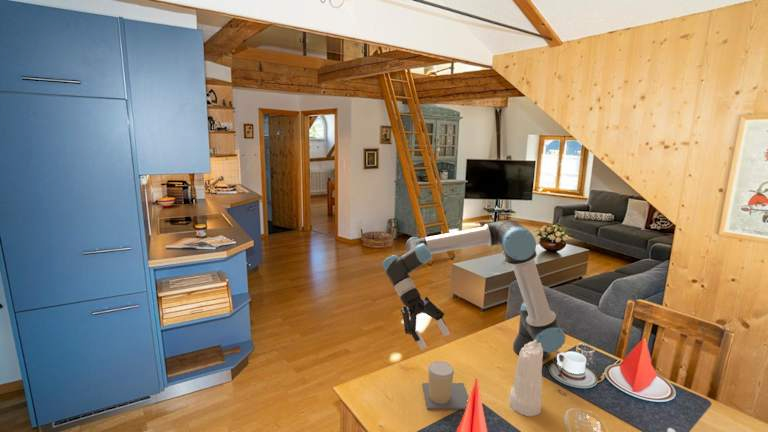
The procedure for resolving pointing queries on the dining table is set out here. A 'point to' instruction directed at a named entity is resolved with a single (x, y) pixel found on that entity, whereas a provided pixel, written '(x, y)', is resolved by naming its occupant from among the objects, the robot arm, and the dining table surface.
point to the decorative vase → (528, 381)
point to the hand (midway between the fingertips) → (436, 341)
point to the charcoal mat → (456, 398)
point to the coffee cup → (440, 381)
